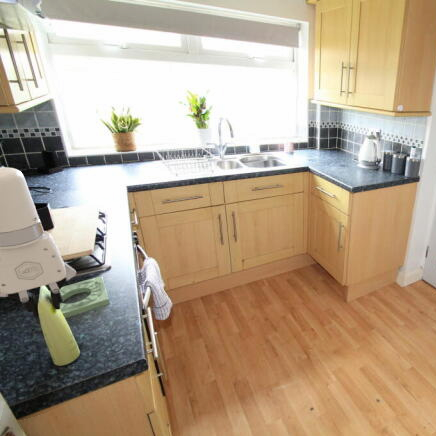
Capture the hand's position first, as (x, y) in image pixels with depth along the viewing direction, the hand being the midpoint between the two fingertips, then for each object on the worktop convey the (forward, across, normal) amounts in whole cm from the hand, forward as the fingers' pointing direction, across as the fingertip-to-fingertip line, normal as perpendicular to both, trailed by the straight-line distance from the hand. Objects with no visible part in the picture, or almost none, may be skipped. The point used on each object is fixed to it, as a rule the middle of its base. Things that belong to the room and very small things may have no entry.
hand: (47, 308), depth 68 cm
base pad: (+15, +4, +22) cm, 27 cm away
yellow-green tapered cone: (+15, 0, 0) cm, 15 cm away
